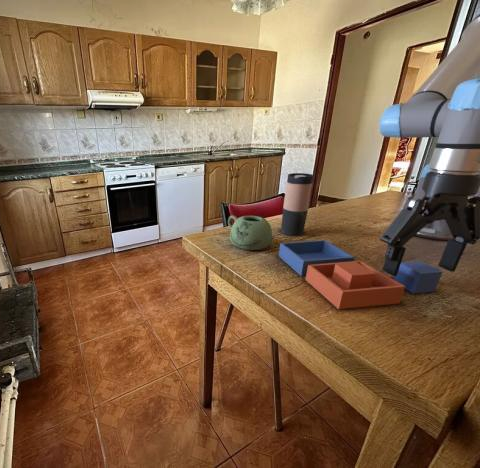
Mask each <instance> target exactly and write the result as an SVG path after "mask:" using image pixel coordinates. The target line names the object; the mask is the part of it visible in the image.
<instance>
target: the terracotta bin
mask: <svg viewBox="0 0 480 468" xmlns="http://www.w3.org/2000/svg"><path fill="white" fill-rule="evenodd" d="M343 263H358V264H360V265H361V266H363V267H365V268H366V269H368V270H370V271H371V272H373V273H375V275H374V279H373V282H372V285H371V288H363V289H352V290H343V289H341V288H340V287H339V286H337V285H336V284H335V283H333V282H332V277H333V272H334V268H335V264H343ZM393 279H394V278H391V277H390V276H388V275H386V274H385V273H383V272H381V271H380V270H378V269H376V268H374V267H372V266H371V265H369V264H367V263H366V262H364V261H363V260H354V261H351V262H339V263H326V264H314V265H308V269H307V274H306V276H305V281H306V282H307V283H308V284H309V285H311V286H312V287H313V288H314V289H315V290H316V291H317V292H318V293H319V294H320V295H322V296H323V297H324V298H325V299H327V301H329V302H330V303H331V304H332V305H333V306H334V307H335V308H336V309H337V310H345V309H354V308H355V309H356V308H366V307H377V306H378V307H379V306H388V305H397V304H400V303H401V300H402V298H403V294H404V292H405V290H406V289H405V286H404V285H402V284H400V283H398V282H397V281H395V280H393Z"/></svg>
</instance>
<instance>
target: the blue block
mask: <svg viewBox="0 0 480 468" xmlns="http://www.w3.org/2000/svg"><path fill="white" fill-rule="evenodd" d="M442 275H443V271H442V270H440V269H438V268H436V267H434V266H431V265H430V264H426V263H425V262H422V261H420V260H411V261H402V262H401V264H400V267H399V270H398V273H397V276H393V278H392V279H393V280H395V281H397V282H398V283H400V284H402V285H404V286H405V289H404V290H406V291H408V292H410V293H411V294H424V293H434V292H436V289H437V287H438V285H439V282H440V280H441V277H442Z"/></svg>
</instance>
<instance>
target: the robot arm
mask: <svg viewBox="0 0 480 468" xmlns="http://www.w3.org/2000/svg"><path fill="white" fill-rule="evenodd" d="M479 72H480V13H478V14H477V15H476V16H475V17H474V18H473V19H472V20H471V21H470V22H469V24H468V25H467V26H466V27H465V29H464V30H463V32H462V33H461V36H460V40H459V41H458V42H457V44H456V45H454V47H453V48H452V50H451V51H449V53H448V54H447V55H446V56H445V58H444V59H443V60H442V61H441V62H440V63H439V64H438V66H437V67H436V68H435V69H434V70H433V71H432V73H431V74H430V75H429V76H428V77H427V78H426V79H425V80H424V82H423V83H422V84H421V85H420V86H419V87H418V89H417V90H416V91H415V92H414V93H413V94H412V96H411V97H410V98H409V99H408V100H407V101H406V102H405V103H404V102H403V103H402V102H399V103H396V104H392V105H389V106H388V107H387V108H385V110H384V111H383V113H382V114H381V116H380V119H379V123H378V124H379V125H378V126H379V127H378V128H379V133H380V135H381V136H383V137H384V138H399V139H406V138H407V139H408V138H409V139H410V138H411V139H412V138H437V141H436V144H435V147H434V149H433V152H432V155H431V157H430V160H429V163H427V164H426V165H425V166H424V167H423V170H422V172H421V175H420V176H419V177H418V178H419V179H418V183H417V186H416V189H415V193H414V196H413V197H412V196H409V197H408V198H407V199H406V201H405V203H404V206H403V208H402V209H401V210H400V212H399V213H398V214H397V215H396V217H395V218H394V219H393V221H392V222H391V224H389V226H388V228H387V229H386V230H385V231H384V232H383V234H382V235H381V236H380V238H379V240H380V241H381V242H383V243H386V244H387V248H386V252H385V254H384V259H385V260H384V262H383V265H382V269H381V270H382V271H383V272H385V273H387V274H389V275H391V276H392V277H394V276H397V273H398V270H399V267H400V264H401V262H403V259H404V256H405V252H406V251H407V247H405V245H406V244H407V243H408V242H409V241H410V240H412V238H413V237H417V238H423V239H429V240H437V241H447V242H446V246H445V247H444V250H443V252H442V255H441V257H440V260H439V263H438V265H437V266H438V267H439V268H442V269H444V270H447V271H448V272H450V273H455V271H456V270H457V268H458V264H459V263H460V260H461V258H462V256H463V254H464V252H465V250H466V248H467V245H468V244H469V245H475V244H476V243H477V241H479V240H480V77H479V78H475V76H476V75H477V74H478V73H479Z"/></svg>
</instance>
